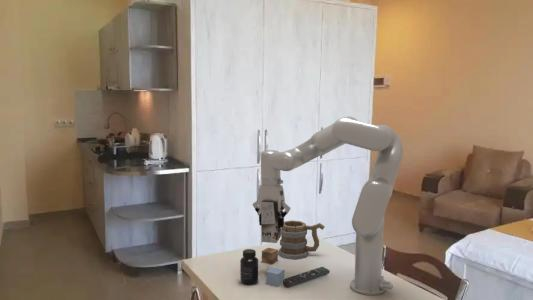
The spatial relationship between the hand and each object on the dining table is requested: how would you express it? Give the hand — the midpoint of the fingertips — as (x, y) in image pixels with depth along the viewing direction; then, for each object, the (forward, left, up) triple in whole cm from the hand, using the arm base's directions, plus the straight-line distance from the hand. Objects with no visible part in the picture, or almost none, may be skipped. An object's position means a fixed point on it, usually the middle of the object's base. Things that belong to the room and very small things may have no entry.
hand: (271, 225), depth 172 cm
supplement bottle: (+2, +12, -19) cm, 23 cm away
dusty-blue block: (-7, +8, -19) cm, 22 cm away
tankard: (-2, -24, -19) cm, 31 cm away
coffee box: (0, 0, -6) cm, 6 cm away
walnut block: (+6, -10, -19) cm, 23 cm away
